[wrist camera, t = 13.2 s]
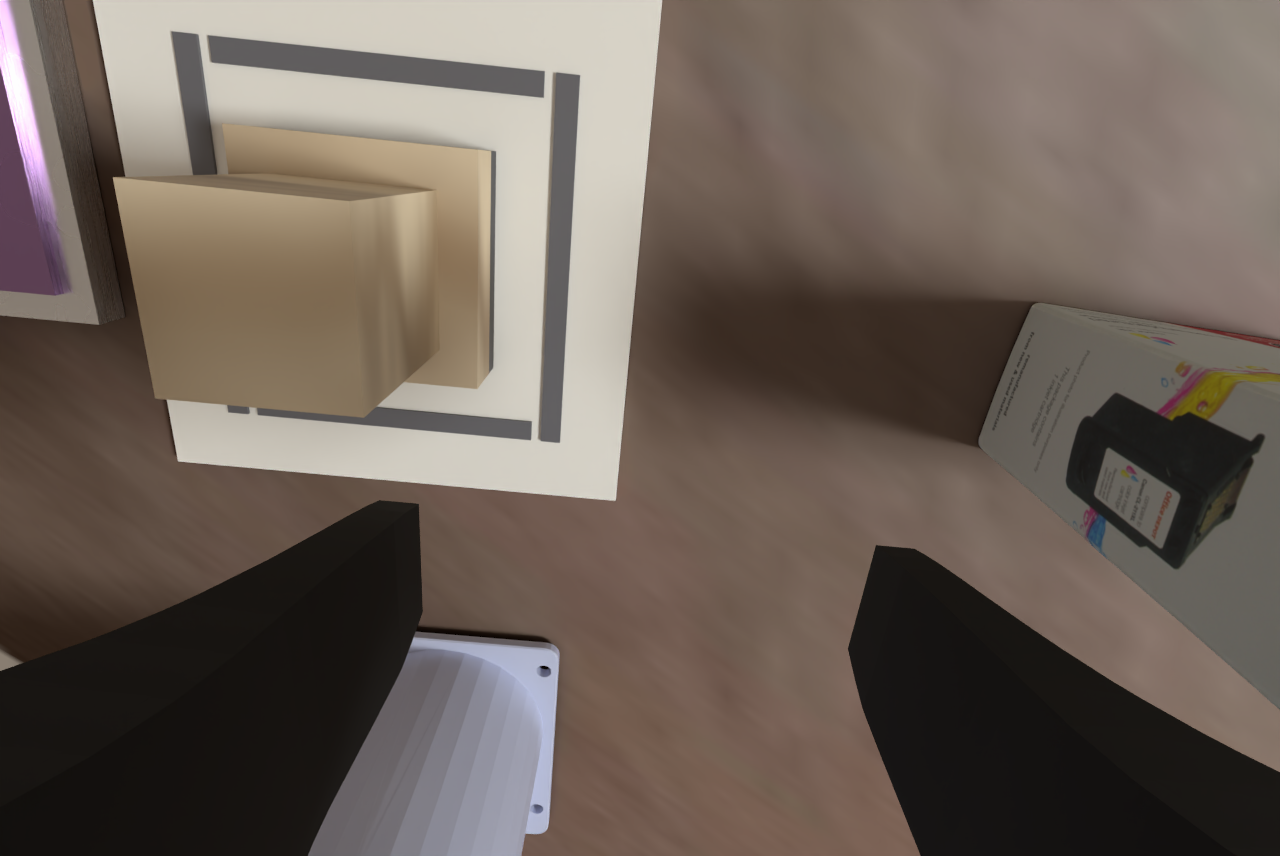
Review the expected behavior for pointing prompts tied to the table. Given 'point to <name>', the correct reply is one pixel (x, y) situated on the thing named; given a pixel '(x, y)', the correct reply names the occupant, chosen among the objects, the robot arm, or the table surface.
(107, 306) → the ink pad
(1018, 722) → the robot arm
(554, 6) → the paper sheet
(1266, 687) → the ink box
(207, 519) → the table surface
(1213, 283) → the table surface
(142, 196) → the wooden stamp
